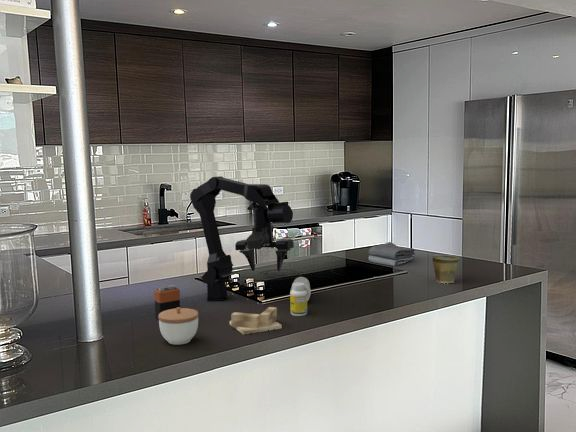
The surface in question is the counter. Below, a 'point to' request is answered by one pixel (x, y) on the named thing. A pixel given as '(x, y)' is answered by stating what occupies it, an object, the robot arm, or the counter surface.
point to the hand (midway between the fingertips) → (266, 270)
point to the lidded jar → (178, 325)
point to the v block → (255, 321)
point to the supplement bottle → (298, 299)
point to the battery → (166, 299)
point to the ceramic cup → (445, 268)
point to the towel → (390, 254)
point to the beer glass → (307, 285)
